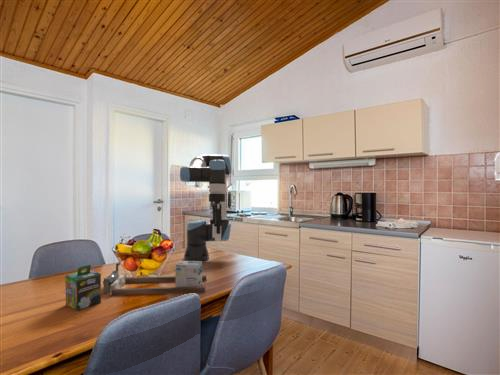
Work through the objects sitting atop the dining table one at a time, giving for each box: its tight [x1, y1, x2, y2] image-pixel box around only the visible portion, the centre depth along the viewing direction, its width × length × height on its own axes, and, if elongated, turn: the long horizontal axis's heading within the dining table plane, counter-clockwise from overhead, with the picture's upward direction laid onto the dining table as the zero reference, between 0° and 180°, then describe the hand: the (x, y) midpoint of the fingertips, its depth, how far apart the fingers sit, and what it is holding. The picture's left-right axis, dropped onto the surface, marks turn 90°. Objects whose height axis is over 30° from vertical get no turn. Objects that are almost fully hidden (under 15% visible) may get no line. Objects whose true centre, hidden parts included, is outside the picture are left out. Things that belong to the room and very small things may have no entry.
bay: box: [109, 272, 207, 296], centre depth 128 cm, size 16×38×4 cm, turn 96°
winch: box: [102, 262, 121, 294], centre depth 128 cm, size 16×4×9 cm, turn 6°
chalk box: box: [64, 264, 102, 312], centre depth 109 cm, size 9×9×15 cm
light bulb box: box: [174, 260, 203, 287], centre depth 130 cm, size 11×7×11 cm, turn 84°
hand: (216, 239), depth 133 cm, fingers open, 13 cm apart
